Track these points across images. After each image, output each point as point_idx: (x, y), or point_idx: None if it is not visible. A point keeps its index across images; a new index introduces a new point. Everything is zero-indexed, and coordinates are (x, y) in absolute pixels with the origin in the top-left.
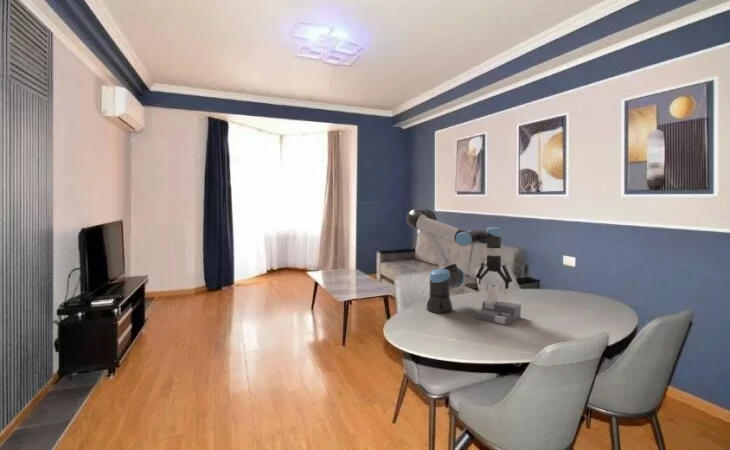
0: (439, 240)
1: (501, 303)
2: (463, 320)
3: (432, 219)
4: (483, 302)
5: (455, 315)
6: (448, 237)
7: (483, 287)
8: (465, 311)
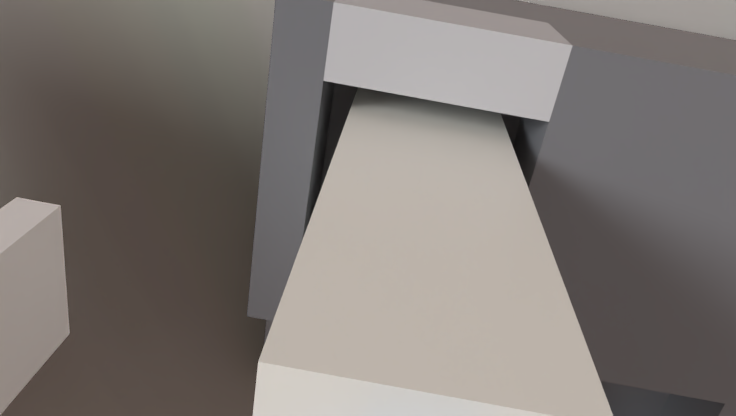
0: None
1: (609, 241)
2: None
3: None
4: (268, 319)
5: (52, 380)
6: None
7: (2, 265)
8: (50, 186)
